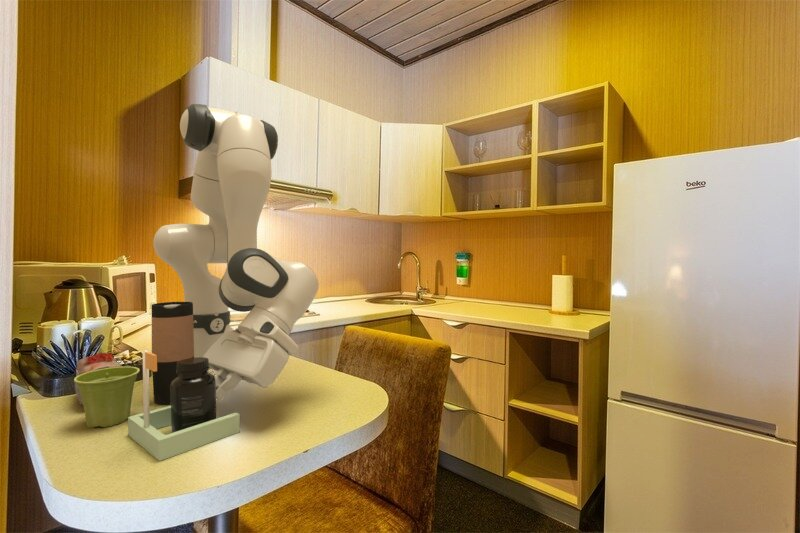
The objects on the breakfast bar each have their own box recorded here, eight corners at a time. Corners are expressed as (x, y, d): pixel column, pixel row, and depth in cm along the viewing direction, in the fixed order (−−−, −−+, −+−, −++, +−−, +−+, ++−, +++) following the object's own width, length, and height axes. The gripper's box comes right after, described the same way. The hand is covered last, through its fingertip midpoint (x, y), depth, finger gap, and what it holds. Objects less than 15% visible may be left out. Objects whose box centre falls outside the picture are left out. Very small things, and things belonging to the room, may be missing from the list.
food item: (129, 403, 79) (129, 355, 79) (79, 415, 73) (78, 363, 73) (114, 388, 88) (114, 345, 88) (68, 397, 82) (67, 351, 82)
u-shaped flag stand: (128, 435, 64) (126, 345, 64) (203, 412, 74) (202, 333, 74) (159, 461, 56) (157, 357, 56) (239, 431, 65) (238, 343, 65)
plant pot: (149, 418, 71) (148, 371, 71) (86, 438, 63) (85, 385, 63) (127, 407, 76) (126, 363, 76) (66, 424, 69) (65, 375, 68)
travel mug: (177, 390, 86) (176, 301, 86) (202, 395, 83) (201, 302, 83) (143, 402, 79) (142, 304, 79) (170, 407, 76) (168, 306, 76)
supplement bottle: (225, 423, 69) (224, 356, 68) (199, 441, 62) (197, 366, 62) (190, 420, 70) (189, 354, 70) (161, 438, 63) (159, 365, 63)
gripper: (224, 318, 80) (174, 376, 73) (282, 328, 68) (229, 400, 60) (245, 336, 84) (199, 393, 77) (303, 349, 71) (256, 419, 64)
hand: (213, 396), depth 68 cm, fingers closed, pressing on supplement bottle
